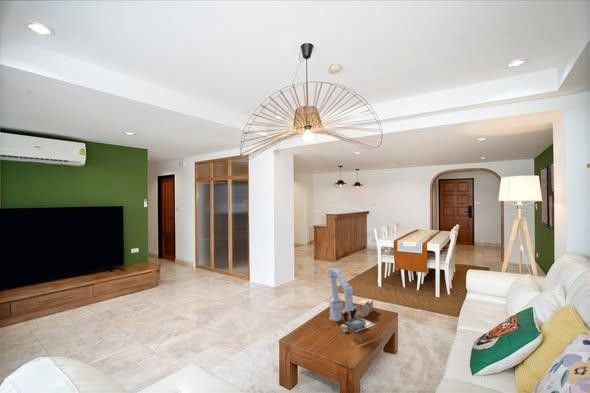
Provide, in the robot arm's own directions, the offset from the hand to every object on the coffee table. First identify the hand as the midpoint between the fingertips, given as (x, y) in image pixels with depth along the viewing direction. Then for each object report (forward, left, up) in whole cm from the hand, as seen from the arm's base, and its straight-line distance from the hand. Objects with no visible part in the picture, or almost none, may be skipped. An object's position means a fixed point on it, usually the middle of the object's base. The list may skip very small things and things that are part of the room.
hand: (349, 320), depth 220 cm
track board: (-3, +14, -10) cm, 17 cm away
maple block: (-3, -3, -10) cm, 11 cm away
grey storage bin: (-3, +9, -9) cm, 13 cm away
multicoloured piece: (-17, +35, -10) cm, 41 cm away
